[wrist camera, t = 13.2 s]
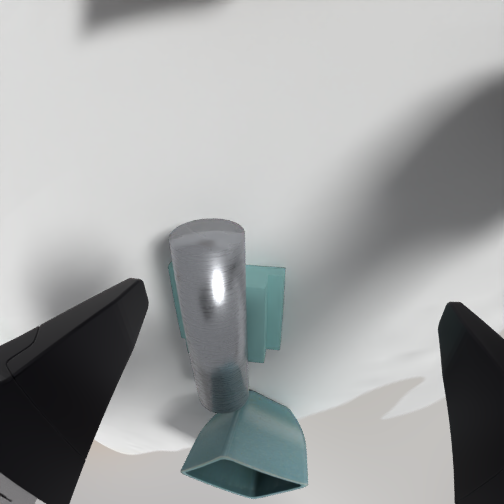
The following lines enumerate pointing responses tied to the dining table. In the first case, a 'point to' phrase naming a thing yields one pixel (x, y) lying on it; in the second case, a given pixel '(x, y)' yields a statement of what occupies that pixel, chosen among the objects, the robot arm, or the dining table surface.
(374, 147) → the dining table surface
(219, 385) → the axle
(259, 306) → the cradle
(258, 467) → the flower pot
